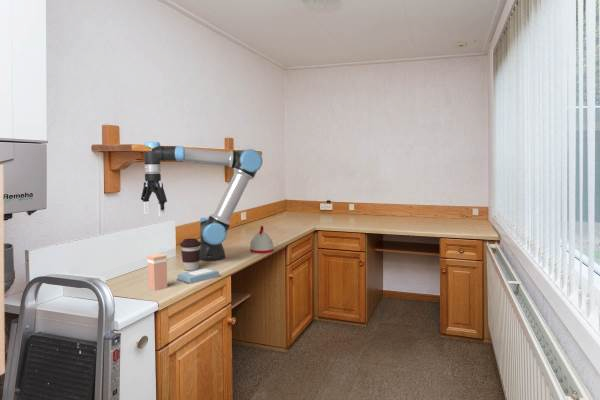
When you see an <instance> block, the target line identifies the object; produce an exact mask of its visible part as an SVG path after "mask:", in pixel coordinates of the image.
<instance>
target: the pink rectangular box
mask: <svg viewBox="0 0 600 400" xmlns="http://www.w3.org/2000/svg"><path fill="white" fill-rule="evenodd" d="M146 257H147V258H146V259H147V286H148V287H147V288H148V289H149V290H151V291H154V292H155V291H160V290H162V289H166V288H168V269H167V268H168V265H167V264H168V263H167V255H166V254H163V253H157V254H152V255H147V256H146Z"/></svg>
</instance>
